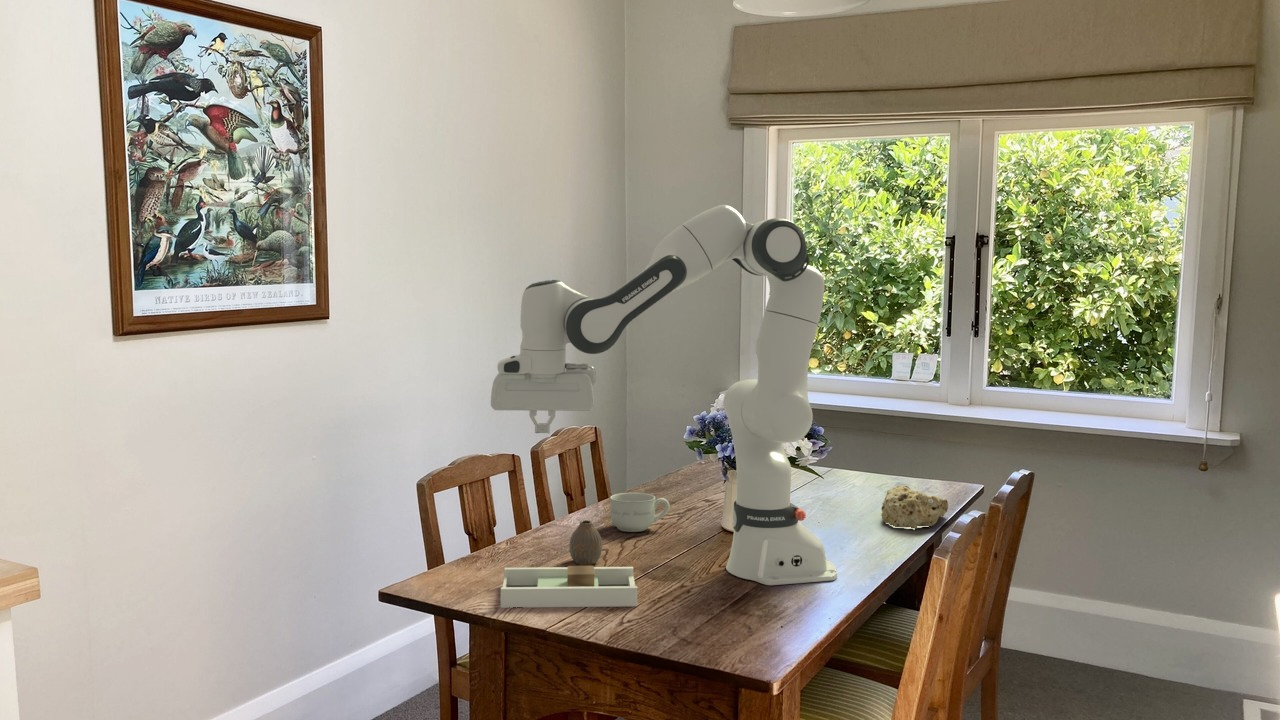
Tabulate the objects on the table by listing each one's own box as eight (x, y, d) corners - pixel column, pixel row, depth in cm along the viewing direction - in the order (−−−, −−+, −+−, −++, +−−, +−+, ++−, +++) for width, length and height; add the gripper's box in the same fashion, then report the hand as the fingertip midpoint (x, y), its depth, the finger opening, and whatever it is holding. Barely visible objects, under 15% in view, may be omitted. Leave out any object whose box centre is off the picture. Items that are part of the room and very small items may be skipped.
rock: (889, 511, 253) (901, 474, 252) (944, 532, 247) (956, 495, 246) (869, 521, 235) (882, 482, 234) (928, 544, 229) (941, 504, 227)
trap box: (632, 584, 191) (633, 566, 191) (637, 606, 180) (637, 587, 179) (504, 585, 189) (504, 567, 189) (500, 607, 178) (500, 589, 177)
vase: (572, 569, 200) (573, 527, 199) (566, 558, 206) (566, 518, 205) (605, 566, 202) (605, 525, 201) (598, 556, 208) (598, 516, 207)
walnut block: (593, 580, 187) (593, 565, 187) (594, 589, 182) (594, 574, 182) (567, 581, 187) (567, 565, 186) (567, 590, 182) (567, 574, 181)
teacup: (604, 533, 225) (604, 499, 224) (616, 521, 236) (616, 488, 235) (662, 538, 222) (663, 504, 221) (672, 525, 232) (673, 493, 232)
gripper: (595, 361, 195) (594, 430, 196) (492, 360, 193) (492, 429, 195) (596, 365, 188) (595, 436, 190) (489, 364, 187) (489, 435, 188)
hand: (542, 432), depth 192 cm, fingers closed
